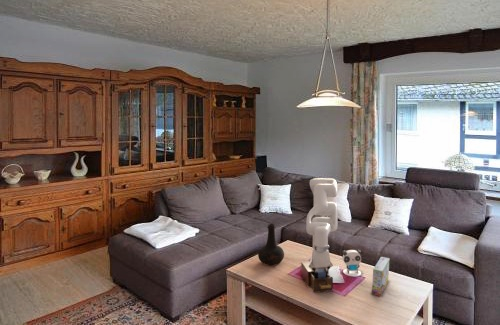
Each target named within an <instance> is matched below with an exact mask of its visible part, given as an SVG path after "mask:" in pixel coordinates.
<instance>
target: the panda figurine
mask: <svg viewBox="0 0 500 325" xmlns="http://www.w3.org/2000/svg"><path fill="white" fill-rule="evenodd" d="M341 254H342V261H343V263H344V264H345V266H346V268H344V269H343V270H342V273H343V274H344V275H345V276H347V277H352V278H356V277H357V278H358V277H360V276H361V275H362V272H361V270H359V268H361V267H360V264H361V262H362V254H363V253H362V251H361V249H348V250H345V249H343V250H341Z"/></svg>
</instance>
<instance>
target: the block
mask: <svg viewBox="0 0 500 325" xmlns="http://www.w3.org/2000/svg"><path fill="white" fill-rule="evenodd" d="M317 272H318V278H326V272H325V270H324V269H318V270H317Z"/></svg>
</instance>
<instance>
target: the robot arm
mask: <svg viewBox="0 0 500 325" xmlns="http://www.w3.org/2000/svg"><path fill="white" fill-rule="evenodd" d="M309 188H310V190H311V192H312V195H313V207H312V208H311V209H310V210H309V212H308V213H307V215H306V219H305V220H306V221H305V230H306V233H307V234H308V235H310V236H312V252H311V257H310V259H309V261H311V264H310V265H309V268H311V269H312V270H313V271H314V276H315V277H316V278H318V272H317V270H318V268H320V267H324V270H325V272H326V277H327V272H328V270H330V269H331V268H332V267H333V266H334V264H333V263H332V262H331V257H330V250H329V248H331V246H330V245H329V242H328V241H329V235H330V234H331V232H336V231H337V230H338V204H337V203H336V202H335V201H328V198H336V197H337V195H338V184H337V180H336V179H335V178H321V177H317V178H315V177H313V178H311V179H310V180H309ZM315 215H316V216H315ZM312 266H314V267H312Z"/></svg>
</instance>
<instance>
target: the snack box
mask: <svg viewBox="0 0 500 325" xmlns="http://www.w3.org/2000/svg"><path fill="white" fill-rule="evenodd" d="M390 260H391V259H390V257H385V256H380V258H379V260H378V261H377V263H375V266H374V268H373V270H372V286H371V294H372V295H375V296H379V297H381V296H382V295H383V292H384V290H385V288H386V286H387V284H388V283H389V272H390Z"/></svg>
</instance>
